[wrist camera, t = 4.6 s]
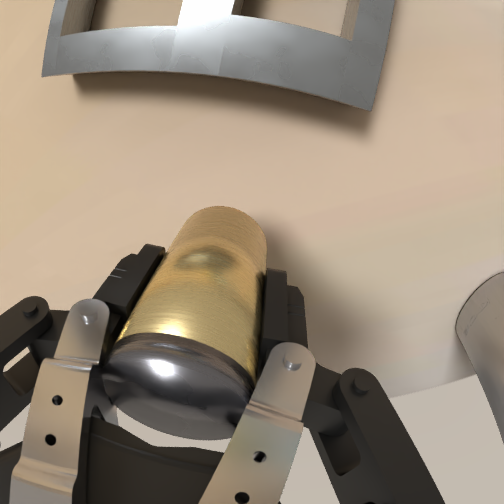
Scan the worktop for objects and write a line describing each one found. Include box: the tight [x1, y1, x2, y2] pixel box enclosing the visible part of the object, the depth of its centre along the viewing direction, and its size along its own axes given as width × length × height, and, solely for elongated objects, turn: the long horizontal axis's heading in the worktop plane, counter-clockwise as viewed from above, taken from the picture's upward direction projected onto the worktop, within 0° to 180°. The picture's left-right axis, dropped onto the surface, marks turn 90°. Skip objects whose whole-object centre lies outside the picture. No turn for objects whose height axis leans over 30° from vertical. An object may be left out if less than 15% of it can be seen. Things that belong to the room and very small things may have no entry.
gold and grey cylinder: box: [101, 206, 267, 440], centre depth 10 cm, size 4×4×8 cm
